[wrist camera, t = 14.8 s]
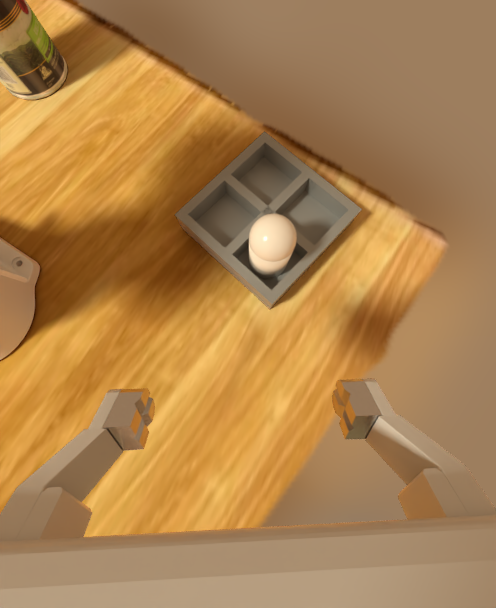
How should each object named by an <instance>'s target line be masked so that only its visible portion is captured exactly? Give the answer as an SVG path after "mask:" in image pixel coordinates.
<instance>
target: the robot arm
mask: <svg viewBox="0 0 496 608" xmlns="http://www.w3.org/2000/svg"><path fill="white" fill-rule="evenodd" d="M39 272H40V266H39V264H38V263H37V262H36V261H35V260H33V259H32V258H30V257H29V256H27V255H26V254H24V253H23V252H21V251H20V250H18V249H17V248H15V247H14V246H12V245H11V244H9V243H8V242H6V241H5V240H3V239H2V238H0V360H1V359H3V358H4V357H6V356H7V355H8V354H10V353H11V352H12V351H13V350H14V349H15V348H16V347H17V346H18V345H19V344H20V342H21V341H22V340H23V338H24V337H25V335H26V334H27V332H28V330H29V328H30V326H31V323H32V320H33V316H34V311H35V293H34V292H35V284H36V282H37V279H38V276H39ZM336 387H337V389H336V390H335V391H333V395H332V402H333V407H334V410H335V413H336V414H337V415H338V416H339V417H340V418H341V420H340V423H339V424H340V427H341V429H342V432H343V435H344V438H345V439H366V441H367V443H368V444H369V445H370V446H371V447H372V448H373V449H374V450H375V451H376V452H377V453H378V454H379V455H380V456H381V457H382V459H383V460H384V461H385V462H386V463H387V464H388V465H389V466H390V467H391V468H392V469H393V470H394V472H395V473H396V474H397V475H398V476H399V477H400V478H401V479H402V480H403V481H404V482H405V483H406V485H407V486H406V487H405V488H404V489H403V490H402V491H401V492H400V493H399V495H398V499H399V501H400V503H401V506H402V508H403V510H404V512H405V515H406V517H407V519H405V520H389V521H388V520H387V521H370V522H369V521H368V522H351V523H333V524H314V525H297V526H277V527H259V528H241V529H223V530H204V531H186V532H168V533H150V534H131V535H113V536H95V537H83V536H84V534H85V531H86V528H87V525H88V523H89V520H90V517H91V515H92V512H91V509H90V508H88V507H87V506H86V505H84V504H83V503H82V501H83V500H84V499H85V497H86V496H87V495H88V494H89V493H90V491H91V490H92V489H93V488H94V486H95V485H96V484H97V483H98V482H99V480H100V479H101V478H102V477H103V476H104V474H105V473H106V472H107V471H108V469H109V468H110V467H111V466H112V465H113V463H114V462H115V461H116V460H117V459H118V457H119V456H120V455H121V454H122V452H123V451H124V450H137V449H144V447H145V444H146V440H147V437H148V434H149V431H148V428H147V426H148V425H149V424H150V423H151V422H152V420H153V417H154V411H155V405H154V401H153V399H152V398H150V397H149V395H150V392H149V390H148V388H145V389H112V390H109V391H108V392H107V393H106V395H105V397H104V399H103V401H102V403H101V405H100V407H99V409H98V411H97V413H96V415H95V417H94V419H93V421H92V422H91V424H90V426H89V428H88V429H84V430H83V431H82V432H81V433H80V434H78V435H77V436H76V437H75V438H74V439H73V440H71V441H70V442H69V443H68V444H67V445H66V446H64V447H63V448H62V449H61V450H60V451H59V452H58V453H56V454H55V455H54V456H53V457H52V458H51V459H49V460H48V461H47V462H46V463H45V464H44V465H43V466H41V467H40V468H39V469H38V470H37V471H36V472H34V473H33V474H32V475H31V476H30V477H29V478H27V479H26V480H25V481H24V482H23V483H22V484H21V485H19V486H18V487H17V488H16V490H15V491H14V493H13V495H12V496H11V498H10V499H9V501H8V503H7V504H6V506H5V507H4V509H3V511H2V512H1V514H0V608H496V509H495V507H494V506H493V504H492V503H491V501H490V500H489V498H488V497H487V496H486V494H485V493H484V492H483V490H482V488H481V487H480V485H479V484H478V483H477V481H476V480H475V478H474V477H473V475H472V474H471V473H470V471H469V470H468V468H467V467H466V465H464V464H463V463H462V462H460V461H459V460H458V459H456V458H455V457H454V456H453V455H451V454H450V453H449V452H447V451H446V450H445V449H443V448H442V447H441V446H439V445H438V444H437V443H436V442H434V441H433V440H432V439H430V438H429V437H428V436H426V435H425V434H424V433H423V432H421V431H420V430H419V429H417V428H416V427H415V426H413V425H412V424H411V423H410V422H408V421H407V420H406V419H404V418H403V417H402V416H401V415H396V414H395V412H394V410H393V409H392V407H391V405H390V404H389V402H388V400H387V398H386V397H385V395H384V393H383V391H382V390H381V388H380V386H379V385H378V383H377V381H376V380H375V379H372V378H370V379H347V380H338V381H337V382H336Z"/></svg>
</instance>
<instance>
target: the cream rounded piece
mask: <svg viewBox="0 0 496 608" xmlns="http://www.w3.org/2000/svg"><path fill="white" fill-rule="evenodd" d="M296 242H297V234H296V230H295V227H294V225H293V223H292V222H291V221H290V220H289V219H288V218H286V217H285V216H283V215H280V214H274V213H272V214H267V215H264V216H262V217H260V218H259V219H258V220H257V221H256V222H255V223H254V224H253V226H252V228H251V230H250V233H249V264H250V267H251V269H252V271H253V272H254V273H255V274H256V275H257V276H259V277H261V278H264V279H272V278H276V277H278V276H279V275H281V274H282V273H283V271H284V270H285V268H286V266H287V264H288V261H289V259H290V257H291V255H292V253H293V250H294V248H295V246H296Z"/></svg>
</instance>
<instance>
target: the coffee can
mask: <svg viewBox="0 0 496 608" xmlns="http://www.w3.org/2000/svg"><path fill="white" fill-rule="evenodd" d="M67 72H68V68H67V64H66V61H65V59H64V58H63V56H62V55H61V54H60V52H59V51H58V49H57V48H56V46H55V45H54V43H53V42H52V40H51V39H50V37H49V36H48V34H47V33H46V31H45V30H44V28H43V27H42V25H41V24H40V22H39V21H38V19H37V17H36V16H35V14H34V13H33V11H32V10H31V8H30V7H29V5H28V4H27V2H26V1H25V0H0V81H1V83H2V84H3V85H4V86H5V87H6V88H7V89H8V91H9V92H10V93H11V94H13V95H14V96H16V97H18V98H21V99H25V100H37V99H41V98H44V97H47V96H49V95H51V94H53V93H54V92H55V91H57V90H58V89H59V88H60V87H61V86H62V84H63V83H64V81H65V79H66V77H67Z"/></svg>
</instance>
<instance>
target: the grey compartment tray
mask: <svg viewBox="0 0 496 608" xmlns="http://www.w3.org/2000/svg"><path fill="white" fill-rule="evenodd" d="M361 210H362V209H361V208H360V207H359V206H357V205H356V204H355V203H354V202H352V201H351V200H350V199H349V198H347V197H346V196H345V195H344V194H342V193H341V192H340V191H339V190H337V189H336V188H335V187H334V186H332V185H331V184H330V183H329V182H327V181H326V180H325V179H324V178H322V177H321V176H320V175H319V174H317V173H316V172H315V171H314V170H312V169H311V168H310V167H309V166H307V165H306V164H305V163H303V162H302V161H301V160H300V159H298V158H297V157H296V156H295V155H293V154H292V153H291V152H290V151H288V150H287V149H286V148H285V147H283V146H282V145H281V144H280V143H278V142H277V141H276V140H275V139H273V138H272V137H271V136H270V135H268V134H267V133H266V132H263V133H262V134H261V135H260V136H259V137H258V138H257V139H256V140H255V141H254V142H253V143H252V144H250V145H249V146H248V147H247V148H246V149H245V150H244V151H243V152H242V153H241V154H240V155H239V156H237V157H236V158H235V159H234V160H233V161H232V162H231V163H230V164H229V165H228V166H227V167H226V168H225V169H223V170H222V171H221V172H220V173H219V174H218V175H217V176H216V177H215V178H214V179H213V180H212V181H210V182H209V183H208V184H207V185H206V186H205V187H204V188H203V189H202V190H201V191H200V192H199V193H198V194H196V195H195V196H194V197H193V198H192V199H191V200H190V201H189V202H188V203H187V204H186V205H185V206H183V207H182V208H181V209H180V210H179V211H178V212H177V213H176V214H175V216H176V218H177V220H178V222H179V223H180V226H181V228H182V229H183V230H184V231H185V232H186V233H188V234H189V235H190V236H191V237H192V238H193V239H194V240H195V241H196V242H197V243H198V244H199V245H201V246H202V247H203V248H204V249H205V250H206V251H207V252H208V253H209V254H210V255H211V256H212V257H214V258H215V259H216V260H217V261H218V262H219V263H220V264H221V265H222V266H223V267H224V268H226V269H227V270H228V271H229V272H230V273H231V274H232V275H233V276H234V277H235V278H236V279H237V280H239V281H240V282H241V283H242V284H243V285H244V286H245V287H246V288H247V289H248V290H249V291H250V292H252V293H253V294H254V295H255V296H256V297H257V298H258V299H259V300H260V301H261V302H262V303H263V304H265V305H266V306H267V307H268V308H269V309H271V308H272V307H273V306H274V304H275V303H276V302H277V301H278V300H279V299H280V298H281V297H282V296H283V295H284V294H285V293H286V292H287V291H288V290H289V289H290V287H291V286H292V285H293V284H294V283H295V282H296V281H297V280H298V279H299V278H300V277H301V276H302V275H303V274H304V273H305V272H306V271H307V269H308V268H309V267H310V266H311V265H312V264H313V263H314V262H315V261H316V260H317V259H318V258H319V257H320V256H321V255H322V254H323V252H324V251H325V250H326V249H327V248H328V247H329V246H330V245H331V244H332V243H333V242H334V241H335V240H336V239H337V238H338V237H339V235H340V234H341V233H342V232H343V231H344V230H345V229H346V228H347V227H348V226H349V225H350V224H351V223H352V221H353V220H354V218H355V217H356V216H357V215H358V214H359V212H360V211H361ZM272 213H274V214H280V215H283V216H285V217H286V218H288V219H289V220H290V221H291V222H292V223H293V225H294V227H295V230H296V234H297V242H296V246H295V248H294V250H293V253H292V255H291V257H290V259H289V261H288V264H287V266H286V268H285V270H284V271H283V273H282V274H281V275H279V276H278V277H276V278H272V279H264V278H261V277H259V276H257V275H256V274H255V273H254V272H253V271H252V269H251V267H250V264H249V233H250V230H251V228H252V226H253V224H254V223H255V222H256V221H257V220H258V219H259V218H260V217H262V216H264V215H267V214H272Z"/></svg>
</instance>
